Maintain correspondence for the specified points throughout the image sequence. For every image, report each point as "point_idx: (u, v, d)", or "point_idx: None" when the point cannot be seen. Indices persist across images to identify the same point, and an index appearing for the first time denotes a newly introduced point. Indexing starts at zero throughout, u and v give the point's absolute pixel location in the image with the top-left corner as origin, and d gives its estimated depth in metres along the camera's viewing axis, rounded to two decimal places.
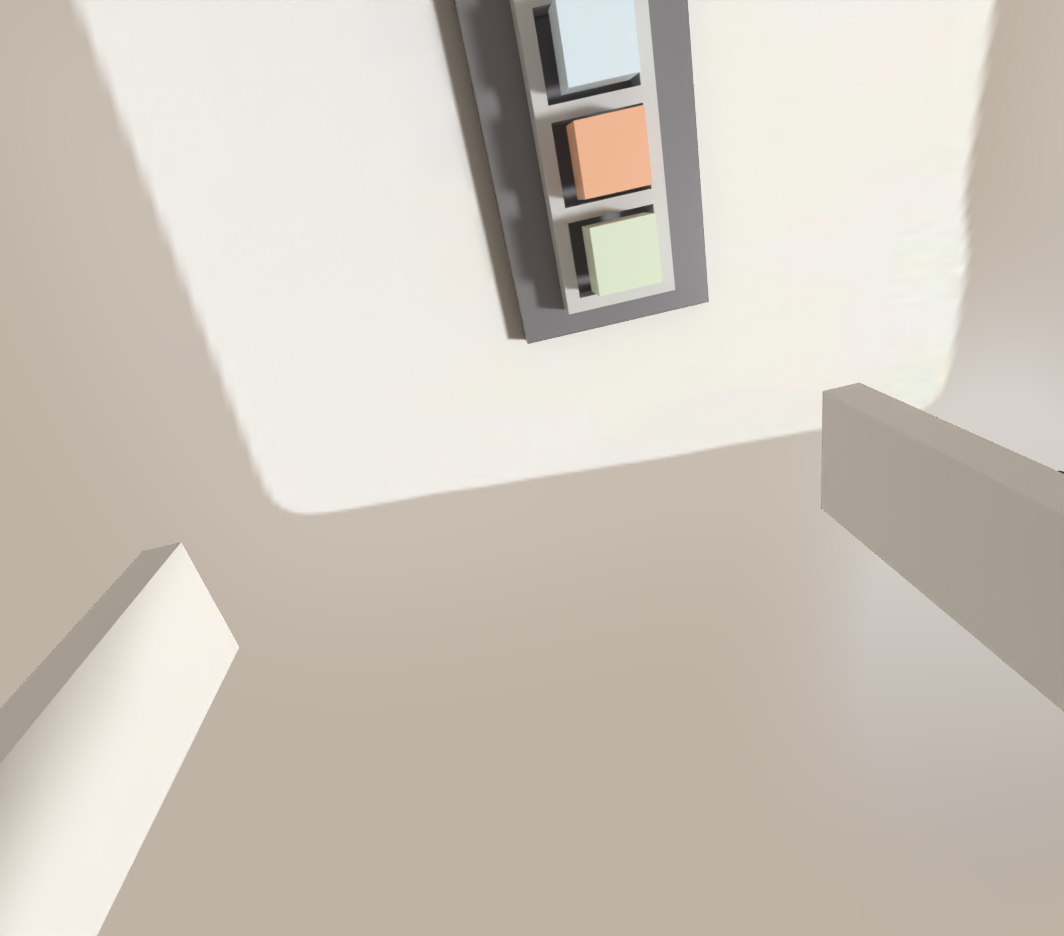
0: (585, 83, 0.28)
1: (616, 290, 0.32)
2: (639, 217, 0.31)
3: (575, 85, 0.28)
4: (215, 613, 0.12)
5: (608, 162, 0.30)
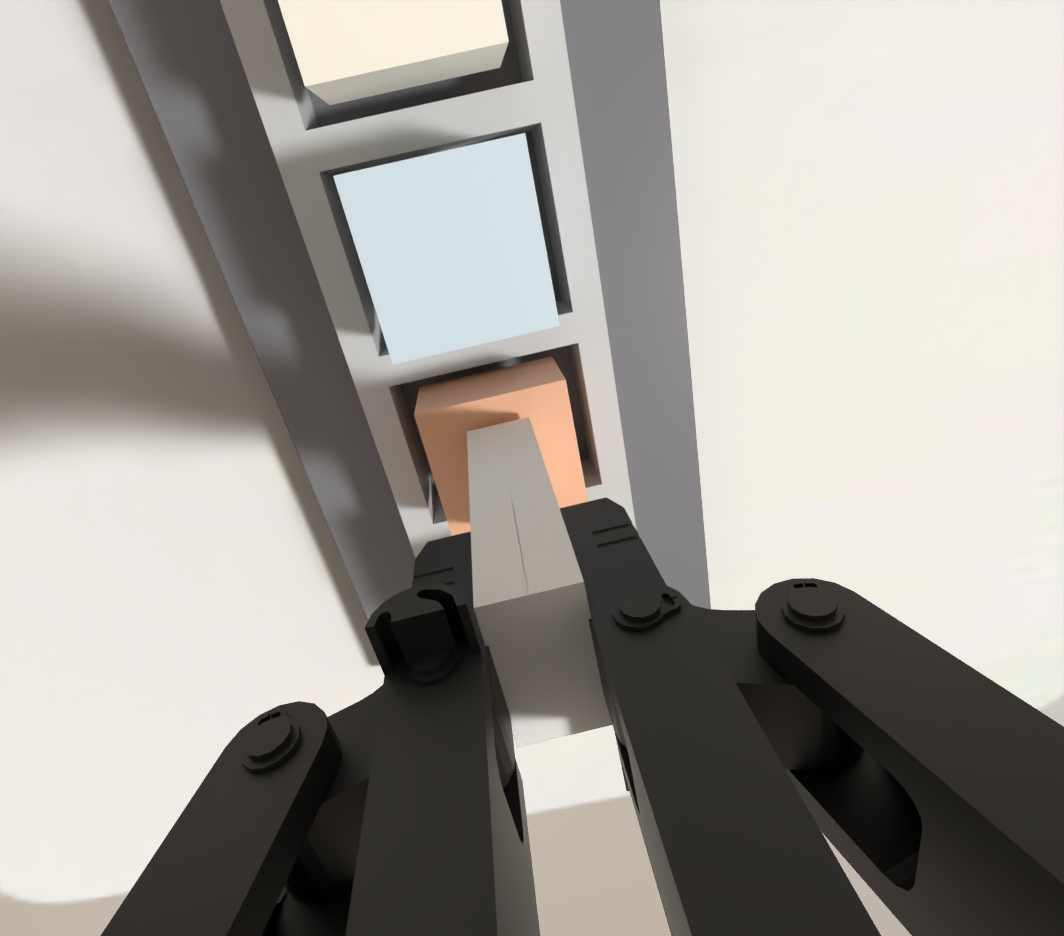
0: (432, 353, 0.12)
1: None
2: None
3: (408, 359, 0.12)
4: None
5: None
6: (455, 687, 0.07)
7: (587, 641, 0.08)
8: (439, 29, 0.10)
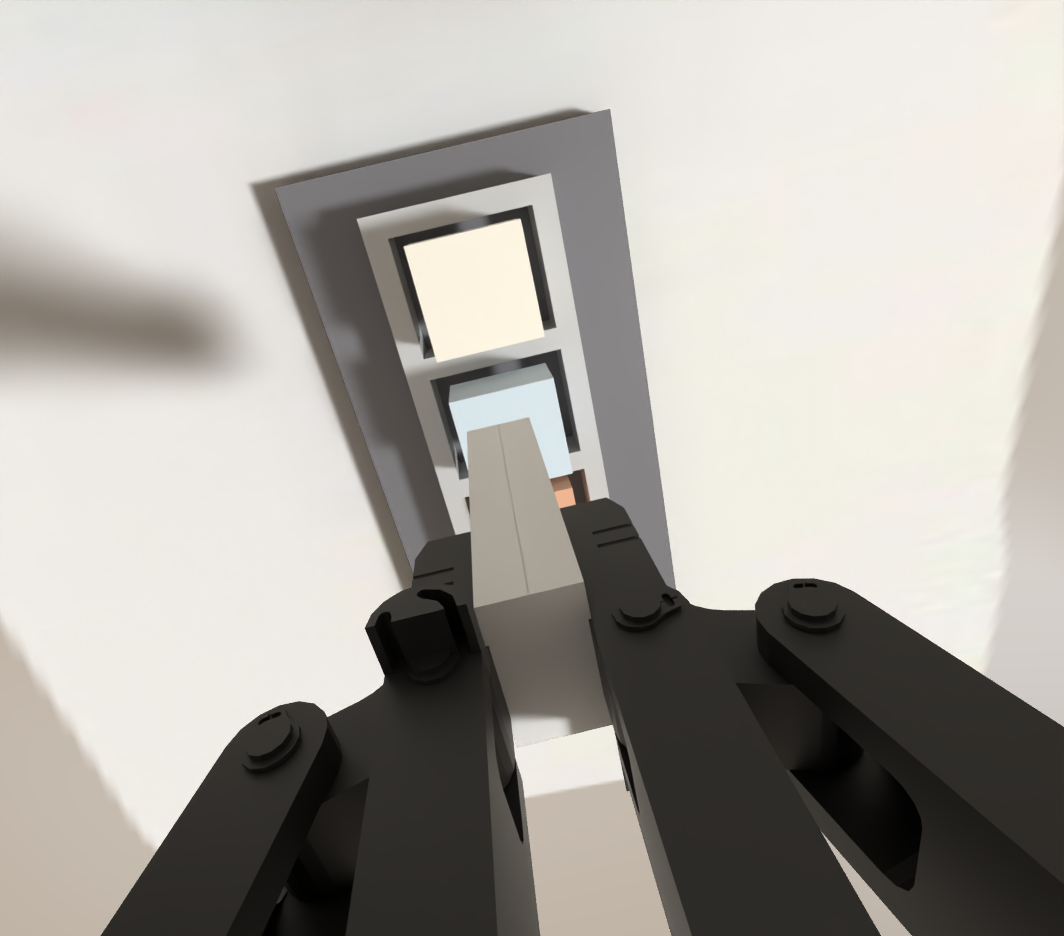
0: None
1: None
2: None
3: None
4: None
5: None
6: (455, 687, 0.07)
7: (587, 641, 0.08)
8: (508, 333, 0.19)
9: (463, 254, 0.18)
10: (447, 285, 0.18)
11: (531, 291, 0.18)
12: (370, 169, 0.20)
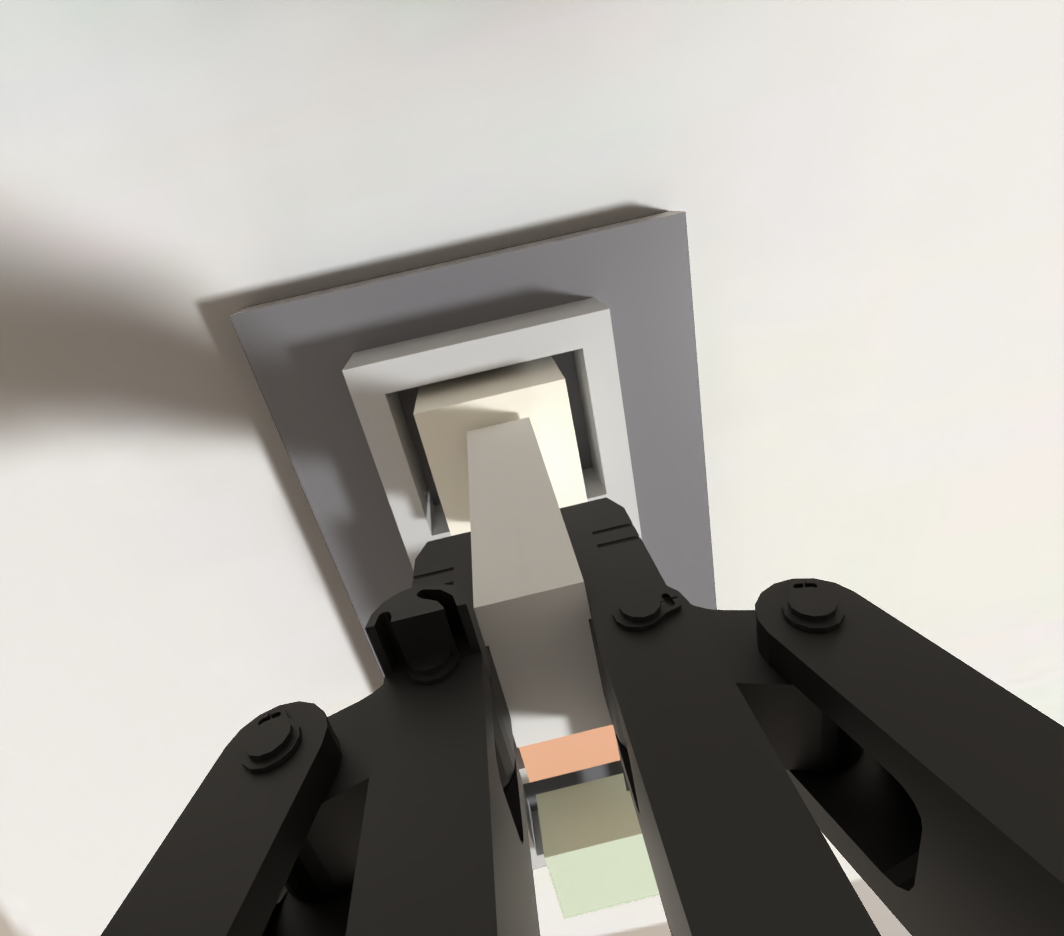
0: None
1: (590, 909, 0.20)
2: (626, 837, 0.19)
3: None
4: None
5: (564, 742, 0.19)
6: (455, 687, 0.07)
7: (587, 641, 0.08)
8: None
9: (490, 420, 0.14)
10: None
11: (574, 461, 0.14)
12: (360, 291, 0.15)
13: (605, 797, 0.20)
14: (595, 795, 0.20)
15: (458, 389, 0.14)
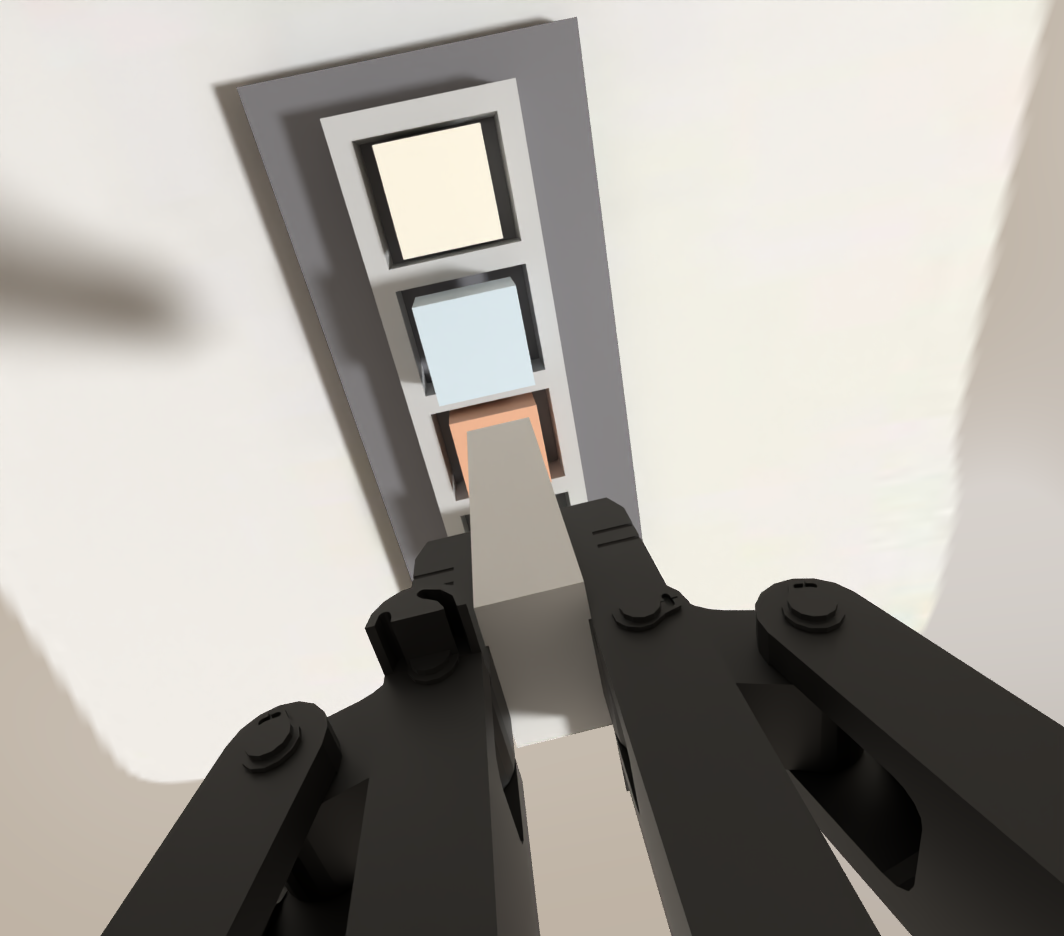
0: (461, 400, 0.21)
1: None
2: None
3: (448, 403, 0.21)
4: None
5: None
6: (455, 687, 0.07)
7: (587, 641, 0.08)
8: (469, 233, 0.20)
9: (427, 154, 0.19)
10: (412, 185, 0.20)
11: (490, 193, 0.20)
12: (334, 71, 0.20)
13: None
14: None
15: None
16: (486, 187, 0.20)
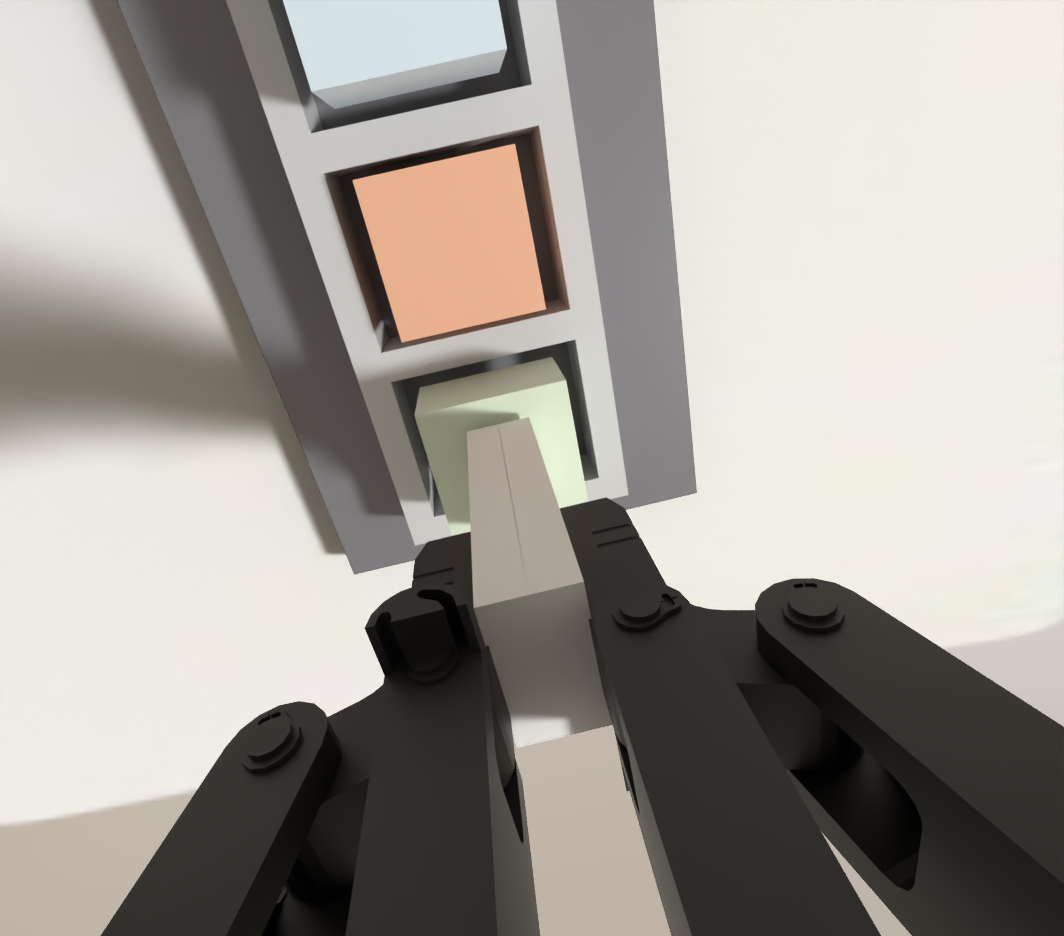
0: (357, 80, 0.10)
1: None
2: (529, 389, 0.14)
3: (330, 85, 0.10)
4: None
5: (444, 267, 0.13)
6: (455, 687, 0.07)
7: (587, 641, 0.08)
8: None
9: None
10: None
11: None
12: None
13: (509, 374, 0.15)
14: (496, 375, 0.15)
15: None
16: None
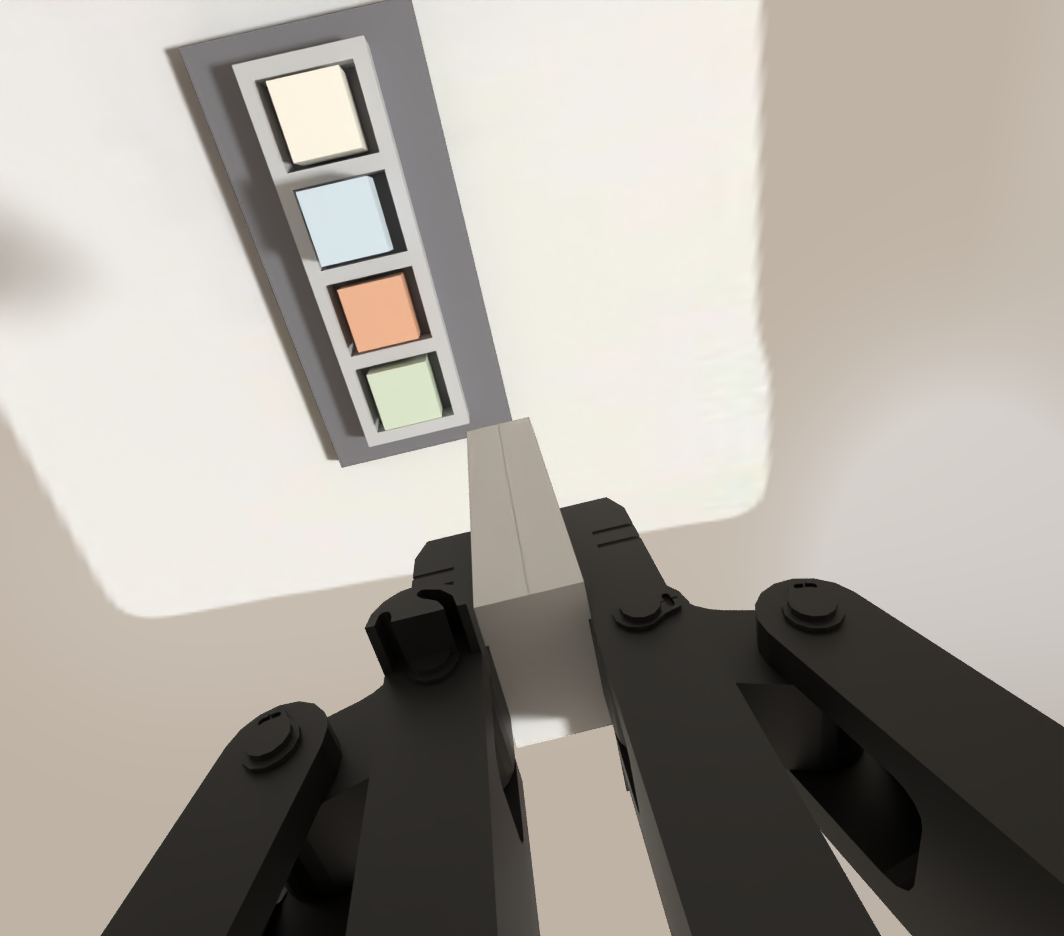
0: (337, 262, 0.30)
1: (400, 425, 0.36)
2: (411, 365, 0.35)
3: (328, 264, 0.30)
4: None
5: (374, 321, 0.33)
6: (455, 687, 0.07)
7: (587, 641, 0.08)
8: (338, 144, 0.30)
9: (304, 87, 0.28)
10: (295, 109, 0.29)
11: (350, 115, 0.29)
12: (245, 35, 0.29)
13: (407, 360, 0.36)
14: (402, 360, 0.36)
15: None
16: (347, 110, 0.29)
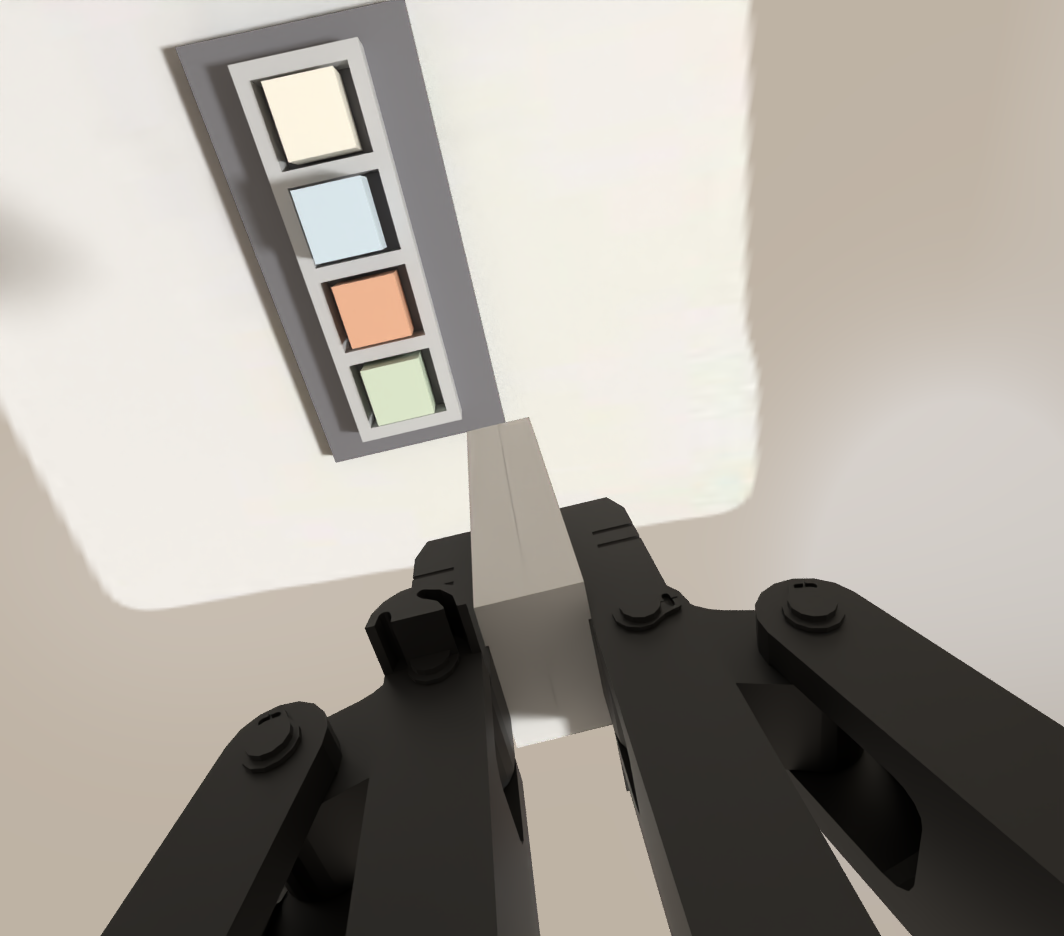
0: (331, 260, 0.31)
1: (393, 420, 0.37)
2: (404, 361, 0.35)
3: (322, 262, 0.31)
4: None
5: (368, 318, 0.34)
6: (455, 687, 0.07)
7: (587, 641, 0.08)
8: (332, 143, 0.30)
9: (299, 88, 0.29)
10: (290, 109, 0.29)
11: (344, 115, 0.30)
12: (240, 36, 0.30)
13: (400, 356, 0.36)
14: (395, 357, 0.37)
15: None
16: (341, 110, 0.30)
